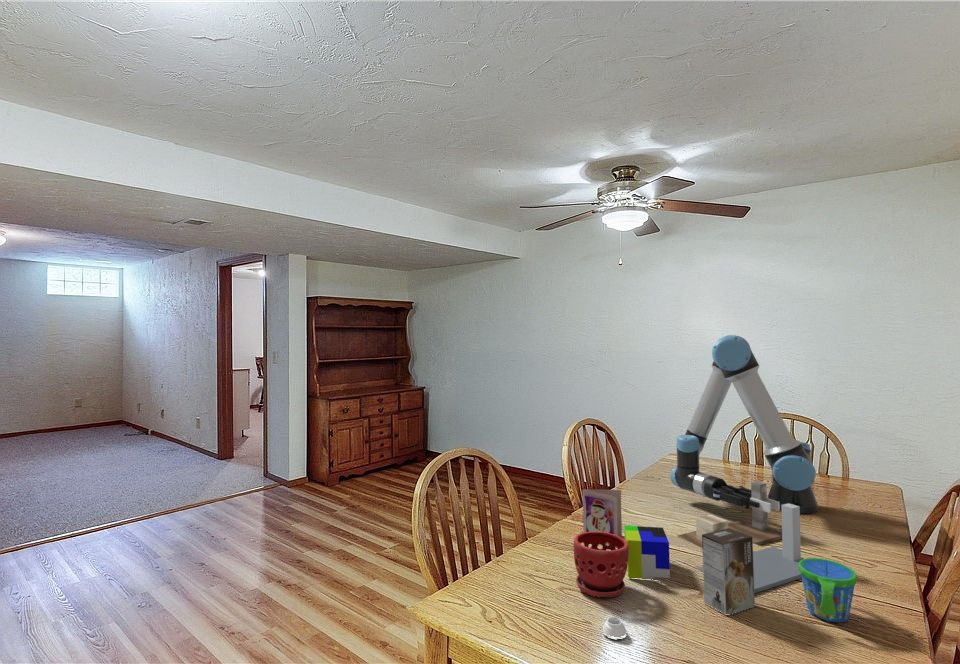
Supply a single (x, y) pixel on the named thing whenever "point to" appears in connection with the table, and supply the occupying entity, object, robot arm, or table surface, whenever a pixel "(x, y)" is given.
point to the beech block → (709, 525)
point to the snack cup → (828, 588)
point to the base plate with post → (779, 554)
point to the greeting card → (602, 511)
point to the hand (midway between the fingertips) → (774, 507)
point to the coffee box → (728, 570)
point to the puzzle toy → (647, 552)
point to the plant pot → (601, 563)
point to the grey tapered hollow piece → (614, 627)
